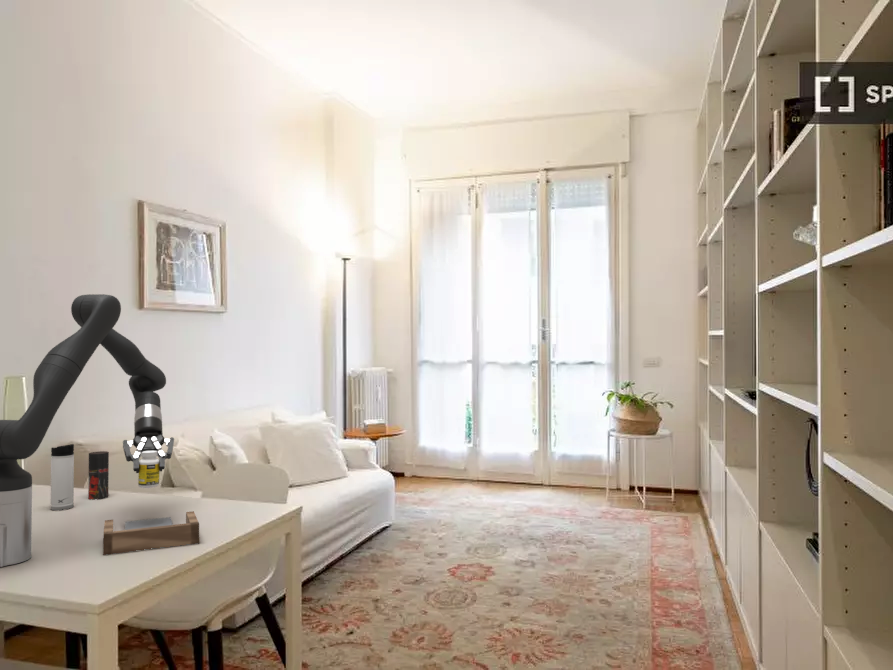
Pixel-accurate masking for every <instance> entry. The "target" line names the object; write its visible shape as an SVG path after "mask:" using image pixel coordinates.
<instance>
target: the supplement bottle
mask: <svg viewBox="0 0 893 670" xmlns="http://www.w3.org/2000/svg"><path fill="white" fill-rule="evenodd" d="M157 457H158V456H157V451H143V452H142V456H141V458H142V459H139V473H138V477H137V478H138V479H137V480H138V482H137V484H138V485H137V486H138V487H139V488H143V489H149V488H150V489H151V488H155V487H159V485H160V471H159V464H160V463H159V458H157Z"/></svg>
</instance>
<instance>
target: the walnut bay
mask: <svg viewBox="0 0 893 670" xmlns="http://www.w3.org/2000/svg"><path fill="white" fill-rule="evenodd" d="M103 525H104V526H103V535H102V537H103V540H102V543H103V546H102V552H103V553H102V555H103V556H106V554H108V555H114V554H113V553H116V554H122V553H123V552H124V553H130V552H129V551H133V552H137V551H136V550H141V551H145V550H144V549H149V550H152V549H151V548H157V549H161V548H160V547H165V548H171V547H170V546H173V547H179V546H180V545H182V546H187V545H186V544H190V545H195V543H198V544H200V523H199V520H198V518H197V515H196V513H195V511H193V510H191V511H185V523H177V524H173V525H167V526H158V527H148V528H139V529H130V530H125V529H123V530H114V519H106V520H104V524H103ZM180 547H181V546H180Z"/></svg>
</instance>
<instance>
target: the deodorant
mask: <svg viewBox="0 0 893 670" xmlns="http://www.w3.org/2000/svg"><path fill="white" fill-rule="evenodd" d="M109 454H110V453H109V451H104V450H103V451H101V450H100V451H99V450H98V451H91V452H88V494H87V496H88V500H91V499H92V500H91V501H93V500H95V499H97V500H104V499H108V498H109V479H110V478H109V474H110V473H109V471H110V470H109V468H110V467H109V466H110V465H109V463H110V461H109Z"/></svg>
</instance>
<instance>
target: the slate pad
mask: <svg viewBox="0 0 893 670" xmlns="http://www.w3.org/2000/svg"><path fill="white" fill-rule="evenodd" d="M124 525H125V526H124V527H125V528H124V530H130V529H139V528H148V527H158V526H167V525H174V524H173V521H172V518H171V516H167V517H158V518H149V519H148V518H147V519H138V520H129V521H128V520H126V521H124Z"/></svg>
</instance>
